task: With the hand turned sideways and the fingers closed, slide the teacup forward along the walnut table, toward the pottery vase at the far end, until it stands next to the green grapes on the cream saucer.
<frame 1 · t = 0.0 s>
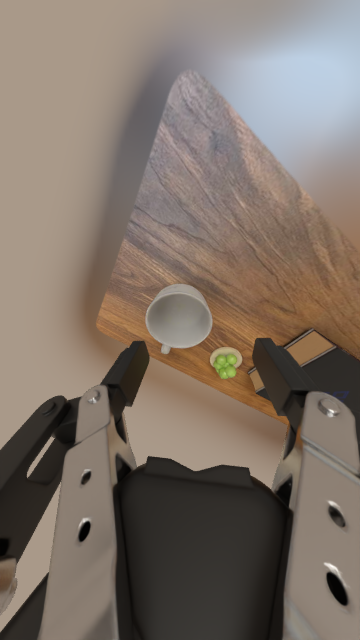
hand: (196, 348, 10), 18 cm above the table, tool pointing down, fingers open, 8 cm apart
teacup: (178, 309, 29), on the table
grapes: (225, 358, 35), on the table
book: (308, 371, 34), on the table
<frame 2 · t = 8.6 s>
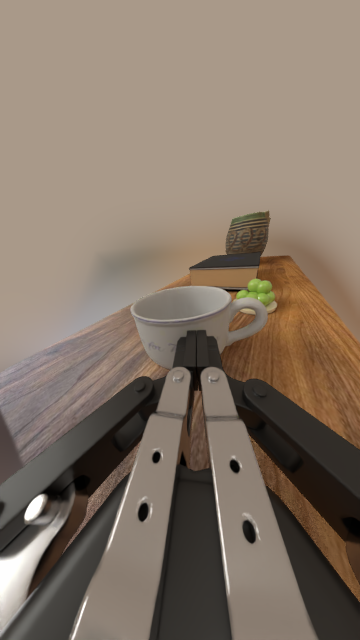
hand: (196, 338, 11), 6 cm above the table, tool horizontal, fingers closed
teacup: (197, 353, 18), on the table, touching gripper
grapes: (252, 305, 27), on the table
pottery: (242, 264, 67), on the table
book: (227, 280, 46), on the table
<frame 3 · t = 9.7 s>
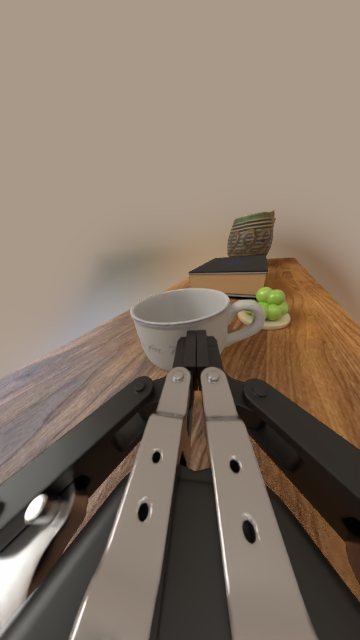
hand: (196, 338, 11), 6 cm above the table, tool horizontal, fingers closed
teacup: (196, 355, 18), on the table, touching gripper
grapes: (261, 317, 24), on the table
pottery: (245, 267, 64), on the table
book: (230, 285, 42), on the table
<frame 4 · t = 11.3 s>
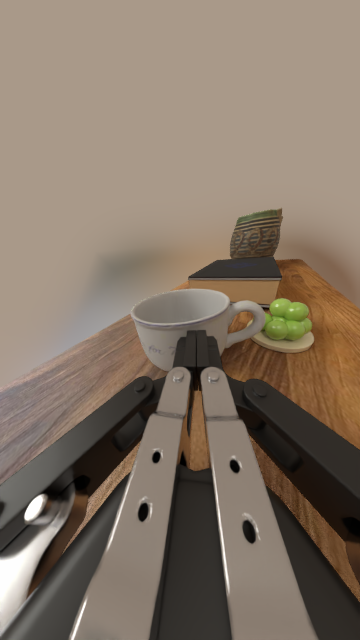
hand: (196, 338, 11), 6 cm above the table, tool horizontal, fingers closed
teacup: (196, 355, 18), on the table, touching gripper
grapes: (275, 333, 20), on the table
pottery: (249, 269, 60), on the table
book: (234, 290, 38), on the table
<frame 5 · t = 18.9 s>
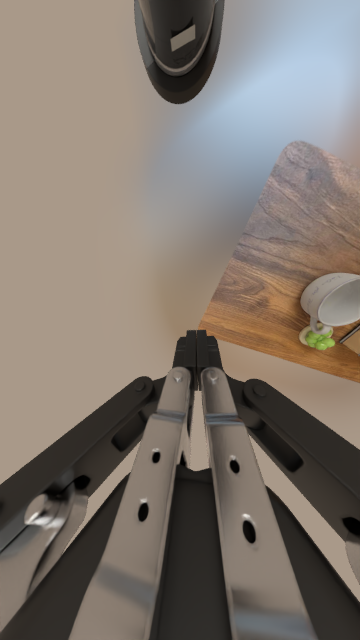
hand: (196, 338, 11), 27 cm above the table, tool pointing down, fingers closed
teacup: (313, 297, 34), on the table
grapes: (314, 333, 39), on the table
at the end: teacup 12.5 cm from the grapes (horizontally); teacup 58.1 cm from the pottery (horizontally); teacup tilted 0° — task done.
